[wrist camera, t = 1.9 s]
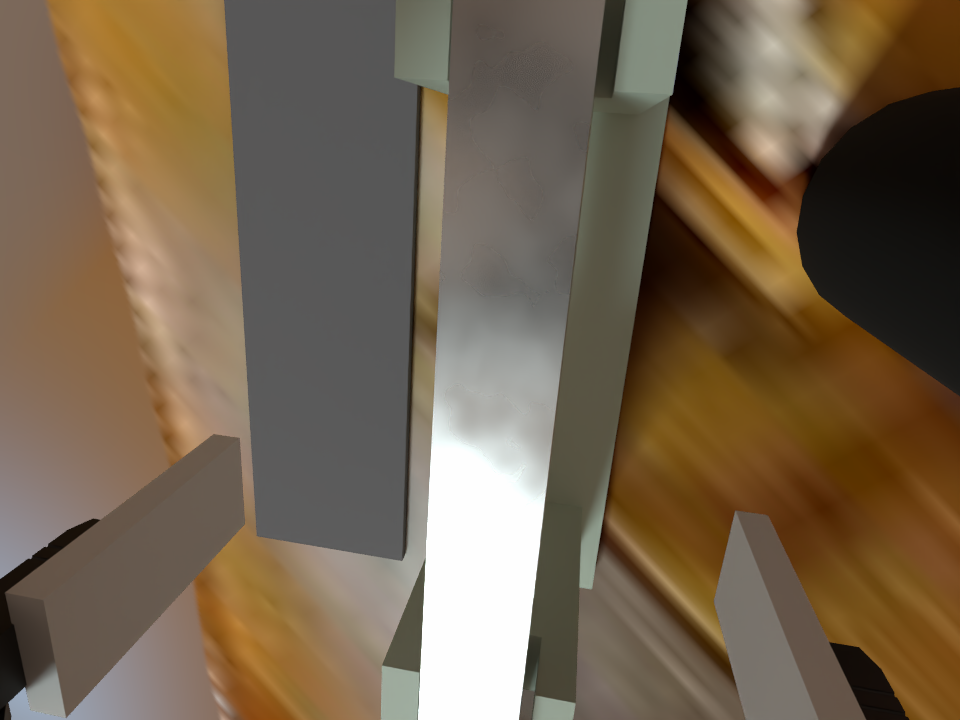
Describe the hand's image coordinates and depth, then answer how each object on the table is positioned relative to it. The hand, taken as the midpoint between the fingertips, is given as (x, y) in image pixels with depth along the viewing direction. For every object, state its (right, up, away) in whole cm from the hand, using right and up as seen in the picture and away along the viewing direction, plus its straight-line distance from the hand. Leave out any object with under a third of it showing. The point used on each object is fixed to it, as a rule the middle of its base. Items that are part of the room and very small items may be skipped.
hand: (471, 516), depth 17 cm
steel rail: (+1, +3, +7) cm, 7 cm away
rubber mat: (-8, +8, +20) cm, 23 cm away
